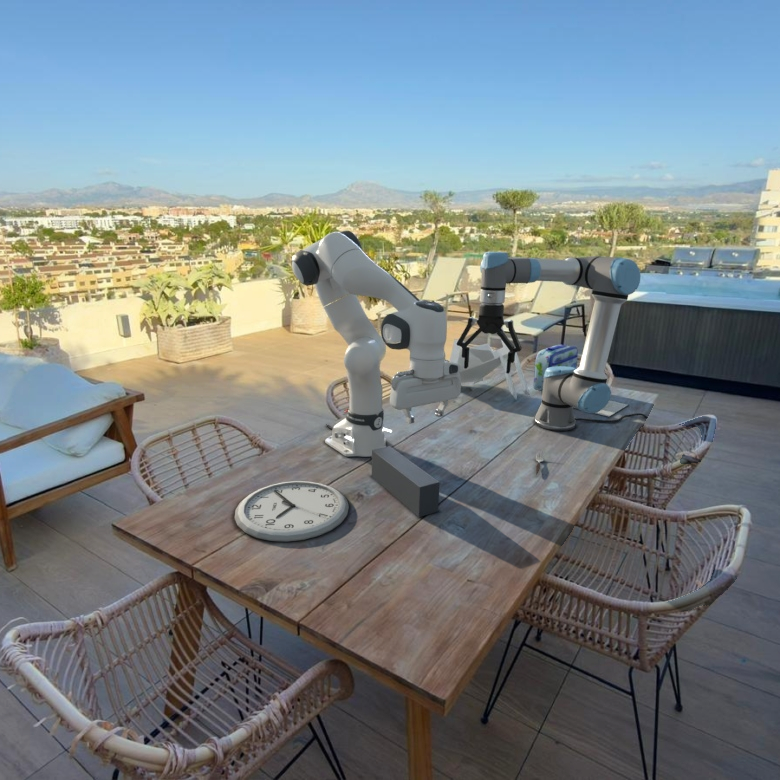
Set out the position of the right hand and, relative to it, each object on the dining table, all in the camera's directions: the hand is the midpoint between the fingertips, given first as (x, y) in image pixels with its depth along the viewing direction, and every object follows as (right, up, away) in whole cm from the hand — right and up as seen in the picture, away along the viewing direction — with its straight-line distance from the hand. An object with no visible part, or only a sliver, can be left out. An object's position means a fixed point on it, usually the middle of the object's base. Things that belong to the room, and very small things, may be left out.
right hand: (486, 370), depth 168 cm
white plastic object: (+11, -8, +76) cm, 77 cm away
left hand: (-22, -14, -33) cm, 42 cm away
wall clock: (-57, -39, -28) cm, 74 cm away
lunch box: (+47, -6, +82) cm, 95 cm away
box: (-27, -36, -17) cm, 49 cm away
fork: (+17, -31, +1) cm, 35 cm away
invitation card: (+60, -14, +59) cm, 85 cm away
